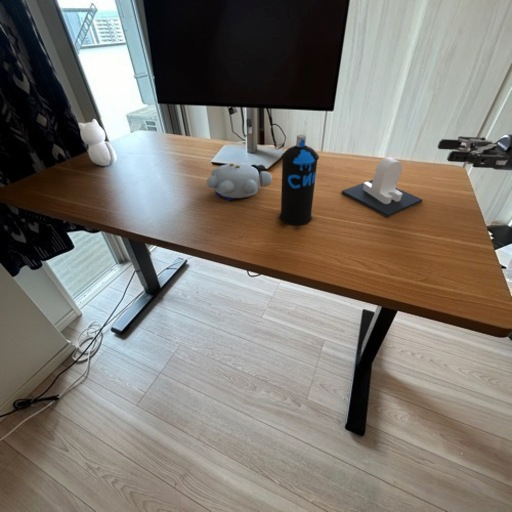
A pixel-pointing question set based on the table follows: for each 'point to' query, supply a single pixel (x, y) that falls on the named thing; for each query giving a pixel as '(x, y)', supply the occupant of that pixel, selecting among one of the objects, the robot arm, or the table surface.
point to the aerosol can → (298, 183)
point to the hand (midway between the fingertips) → (443, 149)
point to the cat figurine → (97, 143)
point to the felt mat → (378, 206)
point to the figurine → (238, 180)
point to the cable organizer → (385, 181)
